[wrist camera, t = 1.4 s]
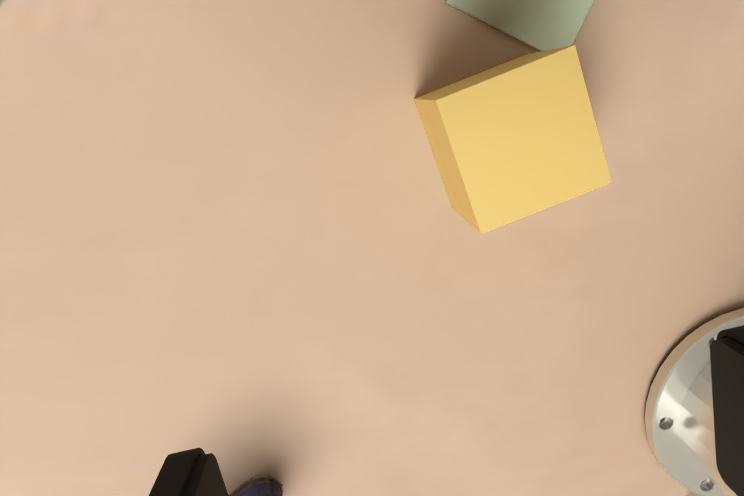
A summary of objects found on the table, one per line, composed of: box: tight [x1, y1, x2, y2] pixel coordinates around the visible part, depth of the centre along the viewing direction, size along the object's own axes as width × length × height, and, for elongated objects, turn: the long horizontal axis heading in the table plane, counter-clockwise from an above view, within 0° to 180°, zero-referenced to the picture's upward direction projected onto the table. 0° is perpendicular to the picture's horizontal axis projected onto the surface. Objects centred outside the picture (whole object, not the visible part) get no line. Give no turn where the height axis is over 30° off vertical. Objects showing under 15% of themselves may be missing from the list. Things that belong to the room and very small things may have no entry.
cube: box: [414, 45, 611, 234], centre depth 27 cm, size 6×6×6 cm
